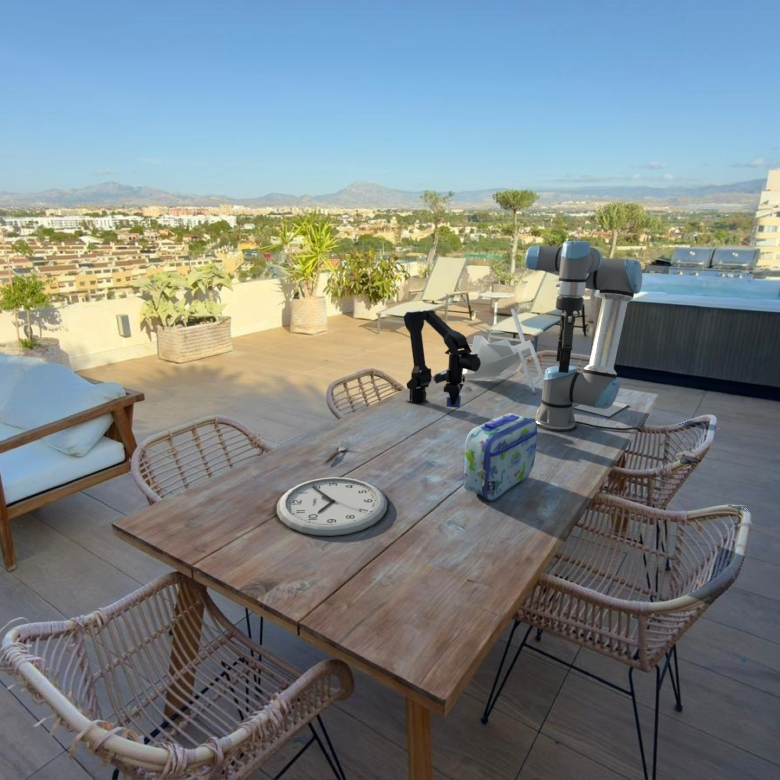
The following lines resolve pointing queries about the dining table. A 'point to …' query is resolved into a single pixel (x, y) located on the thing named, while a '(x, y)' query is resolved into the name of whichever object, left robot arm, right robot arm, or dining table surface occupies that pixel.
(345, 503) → the wall clock
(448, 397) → the brick
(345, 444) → the fork
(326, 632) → the dining table surface
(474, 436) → the lunch box
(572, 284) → the right robot arm
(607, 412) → the invitation card
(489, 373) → the white plastic object
